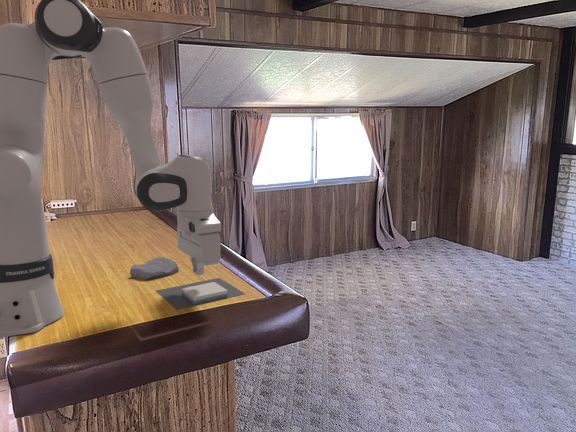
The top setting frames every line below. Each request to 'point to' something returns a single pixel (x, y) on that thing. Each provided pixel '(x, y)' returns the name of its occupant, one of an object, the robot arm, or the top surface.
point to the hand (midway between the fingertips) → (198, 273)
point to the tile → (204, 292)
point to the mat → (175, 294)
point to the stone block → (154, 268)
